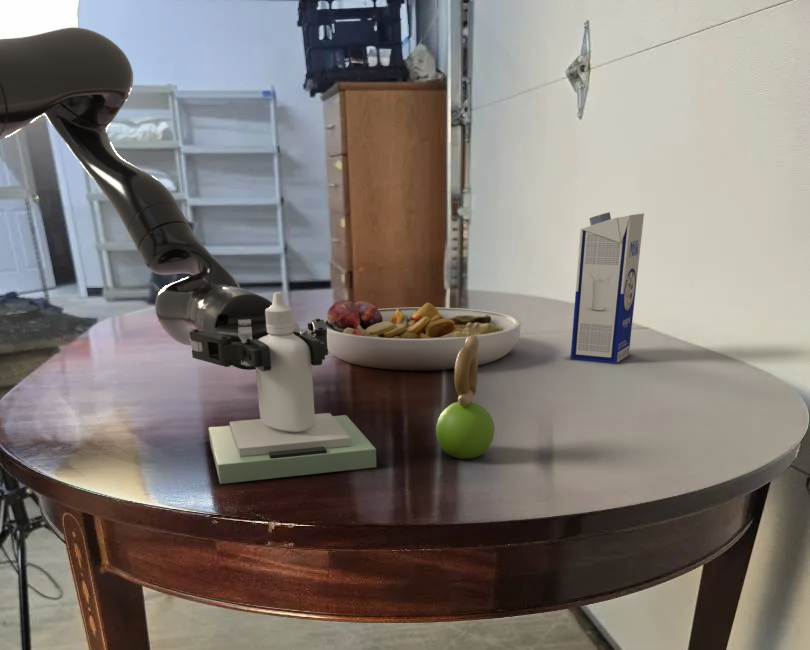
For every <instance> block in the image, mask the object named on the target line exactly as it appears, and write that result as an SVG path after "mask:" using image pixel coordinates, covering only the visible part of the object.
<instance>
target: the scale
mask: <svg viewBox="0 0 810 650" xmlns="http://www.w3.org/2000/svg"><path fill="white" fill-rule="evenodd" d="M208 436H209V445H210V449H211V453H212V457H213V461H214V465H215V469H216V473H217V477H218V481H219V485H222V484H232V483H233V484H234V483H241V482H242V483H243V482H250V481H262V480H268V479H277V478H287V477H288V478H289V477H296V476H297V477H298V476H306V475H315V474H317V475H318V474H324V473H333V472H345V471H352V470H354V471H355V470H362V469H370V468H371V469H372V468H377V448H376V447H375V445H373V444H372V443H371V442H370V440H369V439H368V438H367V437H366V436H365V435H364V434H363V432H362V431H361V430H360V429H359V428H358V427H357V425H356V424H355V423H354V422H353V421H352V420H351V419H350V417H349V416H348V415H347V414H344V415H343V414H342V415H332V413H331V412H324V413H315V425H314V426H313V427H312V428H309V429H306V430H303V431H299V432H292V431H283V430H277V429H274V428H271V427H268V426H266V425H264V424H263V423H262V422H261V419H260V418H256V419H244V420H233V421H229V425H220V426H209V427H208Z"/></svg>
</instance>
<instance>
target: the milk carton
mask: <svg viewBox="0 0 810 650" xmlns="http://www.w3.org/2000/svg"><path fill="white" fill-rule="evenodd" d="M644 219H645V213H636V214H630V215H625V216H618V217H614V218H612V217H611V212H610V211H608V212H604V213H601V214H599V215H595V216H592V217H589V223H590V225H589V226H585V227H582V228H580V231H579V232H580V233H579V242H578V243H579V245H578V256H577V257H578V258H577V271H576V283H575V296H574V309H573V319H572V321H573V323H572V333H571V334H572V335H571V347H570V360H573V361H581V362H582V361H584V362H592V363H604V364H615V365H616V364H618V363H620V362H622V360H624V359H626V358H627V357H629V355H630V347H631V337H632V329H633V328H632V327H633V318H634V309H635V301H636V291H637V282H638V274H639V273H638V272H639V263H640V255H641V254H640V253H641V244H642V236H643V226H644Z"/></svg>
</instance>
